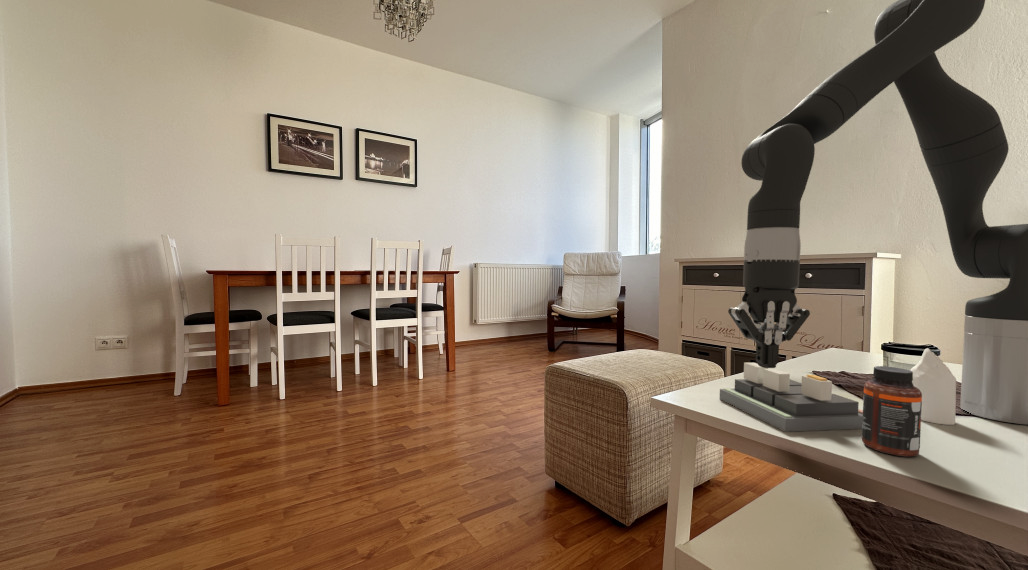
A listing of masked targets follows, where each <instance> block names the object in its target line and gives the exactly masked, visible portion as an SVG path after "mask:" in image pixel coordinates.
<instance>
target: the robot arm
mask: <svg viewBox="0 0 1028 570" xmlns="http://www.w3.org/2000/svg"><path fill="white" fill-rule="evenodd" d="M985 3H986V0H897V1H894V2H892V4H890V5H888V6H887V7H885V8H884V9H883V10H882V11H881V12H880V14H879V15H878V17H877V18H876V21H875V23H874V29H873V37H874V43H875V45H873V46H871V47H870V48H869V49H867V50H866V51H865V52H863V53H862V54H860V55H859V56H857V57H856V58H854V59H853V60H851V61H849V62H848V63H847V64H845V65H844V66H842V67H841V68H839V69H838V70H837V71H835V72H834V73H832V74H830V76H828V77H827V78H826V79H824V80H823V82H821V83H820V84H819V85H818V86H816V87H815V88H814V89H813V90H812V91H811V92H810V93H808V94H807V95H806V96H805V97H804V98H803V99H802V100H801V101H800V102H799V103H797V105H796V106H795V107H794V108H793V109H792V110H791V111H790V112H788V113H787V114H786V115H784V116H783V117H782V118H780V119H779V120H778V121H776V122H775V123H773V124H772V125H771V126H770V127H768V128H767V129H765V130H764V131H763V132H762V133H760V134H759V135H758V136H757V137H756V138H754V139H753V140H752V141H751V142H750V143H749V144H748V145H747V146H746V148H745V150H743V154H742V157H741V163H740V164H741V169H742V171H743V173H744V175H746V176H747V177H748V178H750V179H752V180H755V181H761V185H760V188H759V190H758V191H757V192H755V194H754V195H753V196H751V198H750V199H749V201H748V206H747V217H746V218H747V220H746V235H745V240H744V247H743V248H744V249H743V271H742V273H743V274H742V276H743V277H742V285H743V287H744V293H743V295H742V296H741V303H739V304H738V305H737V306H735V307H729V308H728V310H727V311H728V314H729V316H730V317H731V319H732V321H734V323H735V325H736V326H737V328H738V329H739V331H740V332H741V333H742V335H743V337H745V339H748V340H751V341H754V342H755V363H757V364H758V365H759V366H761V367H764V368H768V369H775V368H777V365H778V363H779V357H780V356H779V354H780V353H779V351H780V345H781V344H782V343H783V342H785V341H788V342H790V341H791V340H792V339H793V338H794V336H795V335H796V334H797V333H798V331H799V330H800V329H801V327H803V326H802V325H804V323H805V322H806V320H808V318H809V317H810V315H811V313H810V310H809V309H804V308H802V307H801V306H800V305H799V304H797V303H798V299H797V296H796V293H795V292H796V289H798V288H799V285H800V268H801V267H800V266H801V243H802V242H801V235H800V234H801V233H800V226H801V225H800V223H801V201H802V198H803V195H804V193H805V192H806V191H805V190H806V187H807V184H808V181H809V178H810V175H811V171H812V168H813V164H814V158H815V151H816V149H815V145H816V144H818V143H819V142H821V141H823V140H825V139H828V138H829V137H830V136H832V135H833V134H834V133H835V132H837V131H838V130H839V129H840V128H842V126H843V125H845V124H846V123H847V122H848V121H849V120H850V119H851V118H852V117H854V116H855V114H857V113H858V112H859V111H861V110H862V108H863V107H865V106H866V105H867V104H868V103H869V102H871V101H872V100H873V99H874V98H875V97H877V96H878V95H879V94H880V93H882V92H883V91H884V90H885V89H886V88H888V87H889V86H890V85H891V84H893V83H894V85H895V87H896V89H897V90H898V92H899V95H900V97H901V99H902V102H903V104H904V106H905V108H906V112H907V113H908V116H909V118H910V121H911V124H912V126H913V129H914V131H915V134H916V138H917V141H918V144H919V147H920V151H921V153H922V157H923V159H924V162H925V165H926V167H927V170H928V172H929V174H930V176H931V178H932V182H933V184H934V187H935V189H936V192H937V196H938V199H939V202H940V204H941V208H942V211H943V215H944V221H945V224H946V225H945V226H946V230H947V233H948V238H949V243H950V248H951V251H952V252H951V253H952V255H953V259H954V262H955V264H956V266H957V267H958V269H959V270H960V272H961V273H962V274H964V275H965V276H967V277H970V278H974V279H975V278H977V279H1009V281H1008V284H1007V286H1006V287H1005V288H1004V289H1002V290H1000V291H999V292H996V293H993V294H990V295H986V296H981V297H976V298H972V299H969V300H967V301H966V303H965V308H964V325H963V348H962V349H963V350H962V366H961V367H962V368H961V385H960V386H961V387H960V403H959V404H960V405H959V406H960V407H959V408H961V409H963V410H965V411H967V412H969V413H968V414H970V413H971V415H974V416H976V417H981V418H984V419H985V418H986V419H989V420H994V421H999V422H1005V423H1010V424H1018V425H1019V424H1020V425H1026V426H1027V425H1028V223H1022V224H1020V223H1019V224H1009V225H993V226H989V225H988V224H987V222H986V220H985V216H984V211H983V207H984V206H983V205H984V201H985V197H986V195H987V193H988V190H990V187H991V186H992V184H993V182H994V181H995V180H996V177H998V174H999V173H1000V171H1001V169H1002V167H1003V166H1004V164H1005V162H1006V159H1007V156H1008V153H1009V143H1008V139H1007V136H1006V133H1005V132H1006V131H1005V130H1004V126H1003V123H1002V121H1001V118H1000V115H999V113H998V112H997V109H996V108H995V107H994V106H993V105H992V104H990V102H988V101H987V100H985V99H984V98H983V97H981V96H980V95H978V94H976V93H975V92H973V91H972V90H970V89H968V88H967V87H965V86H963V85H962V84H961V83H959V82H957V81H956V80H954V79H953V78H952V77H950V75H948V73H947V72H946V71H945V69H943V67H942V65H941V63H940V61H939V59H938V56H937V54H936V51H938V50H940V49H941V48H943V47H944V46H946V45H948V44H950V43H951V42H952V41H954V40H956V39H957V38H959V37H961V36H962V35H963V34H965V33H966V32H967V31H969V30H970V29H971V28H972V27H973V26H974V25H975V23H976V22H977V21H978V20H979V19H980V16H981V15H982V13H983V10H984V7H985ZM961 409H960V410H961ZM963 410H962V411H963ZM965 411H964V412H965ZM967 412H966V413H967Z"/></svg>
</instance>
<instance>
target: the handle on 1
mask: <svg viewBox="0 0 1028 570" xmlns="http://www.w3.org/2000/svg"><path fill="white" fill-rule="evenodd" d="M763 369H769V368H764V367H761V366H759V365H758V363H757V362H743V379H747V380H749V381H752V382H755V383H763Z"/></svg>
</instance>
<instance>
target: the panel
mask: <svg viewBox="0 0 1028 570" xmlns="http://www.w3.org/2000/svg"><path fill="white" fill-rule="evenodd" d="M801 387H802V382H799V381H796V380H793V379H790V382H789V391H782V392H778V391H776V390H773V389H770V388H768V387H765V386H763V383H755V382H752V381H749V380H747V379H744V378H741V379H740V378H739V379H737V378H736V379H734V388H730V387H729V388H728V387H727V388H720V389H719V400H721V401H723V402H724V401H725V402H724V403H726V402H727V404H728V403H729V405H730V404H731V405H730V406H732V405H733V407H734V406H735V407H734V408H736V407H737V408H736V409H738V408H739V409H738V410H740V409H741V410H740V411H742V410H743V412H744V411H745V412H744V413H746V412H747V414H748V413H749V415H750V414H751V416H752V417H754V416H755V418H757V419H759V420H761V421H763V422H765V423H766V424H769V425H771V426H773V427H774V428H776V429H778V430H781V431H783V432H786V433H787V432H788V433H789V432H790V431H791V432H814V431H815V432H816V431H818V432H819V431H839V430H862V423H863V409H860V408H859V401H857V400H854V399H851V398H848V397H844V396H842V395H839V394H836V393H832V396H831V400H817V399H815V398H812V397H809V396H806V395H804V394H801ZM791 432H790V433H791Z"/></svg>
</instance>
